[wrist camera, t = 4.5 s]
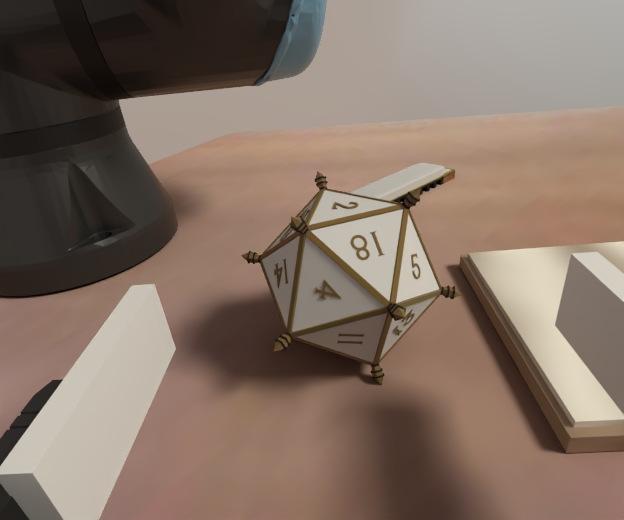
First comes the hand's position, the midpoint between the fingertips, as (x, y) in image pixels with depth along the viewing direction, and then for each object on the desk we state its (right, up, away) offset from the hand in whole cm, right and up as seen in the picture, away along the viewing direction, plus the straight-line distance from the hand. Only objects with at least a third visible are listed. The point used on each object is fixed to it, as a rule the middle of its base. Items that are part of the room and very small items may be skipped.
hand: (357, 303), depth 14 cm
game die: (+1, -3, +7) cm, 8 cm away
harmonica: (+6, +6, +24) cm, 25 cm away
